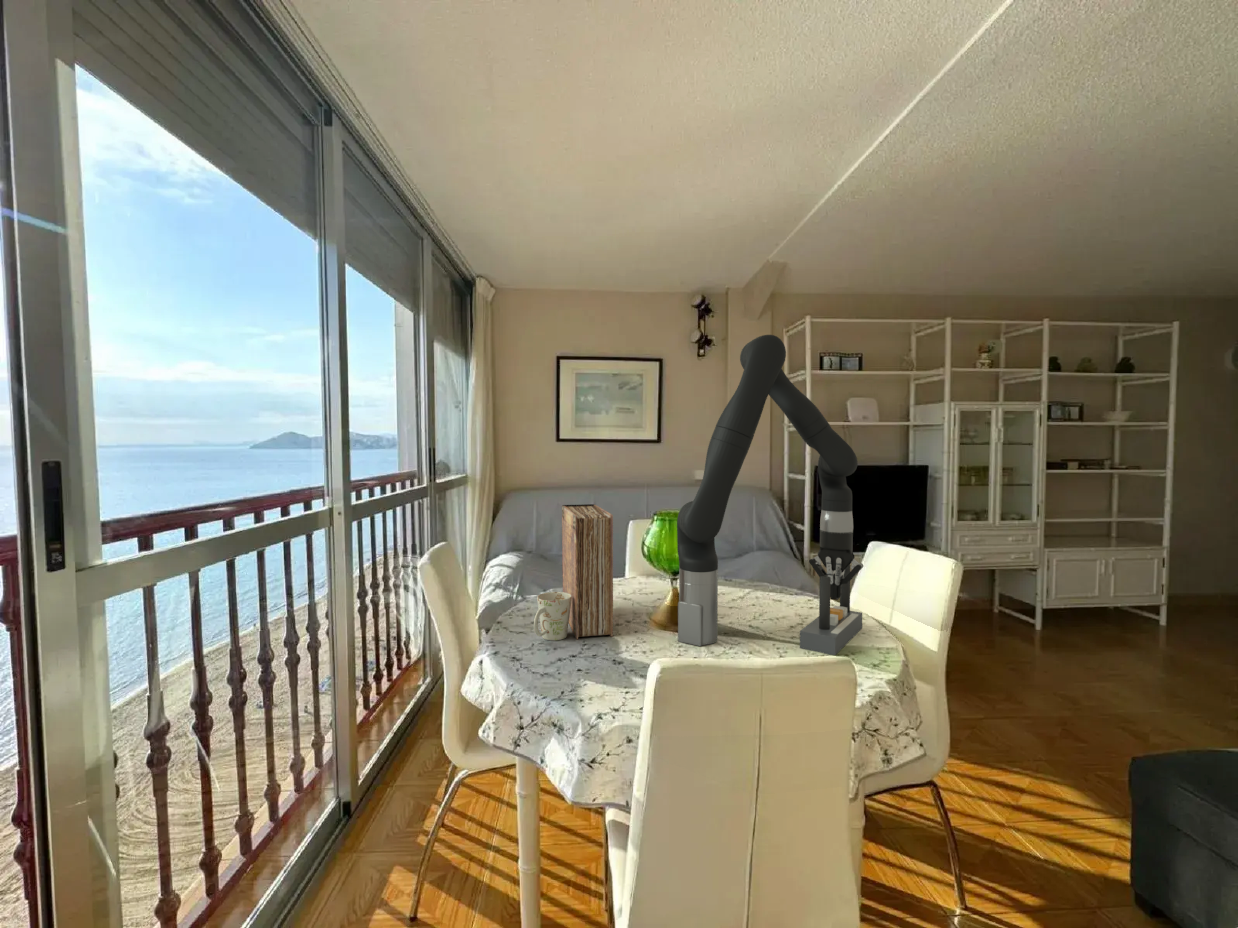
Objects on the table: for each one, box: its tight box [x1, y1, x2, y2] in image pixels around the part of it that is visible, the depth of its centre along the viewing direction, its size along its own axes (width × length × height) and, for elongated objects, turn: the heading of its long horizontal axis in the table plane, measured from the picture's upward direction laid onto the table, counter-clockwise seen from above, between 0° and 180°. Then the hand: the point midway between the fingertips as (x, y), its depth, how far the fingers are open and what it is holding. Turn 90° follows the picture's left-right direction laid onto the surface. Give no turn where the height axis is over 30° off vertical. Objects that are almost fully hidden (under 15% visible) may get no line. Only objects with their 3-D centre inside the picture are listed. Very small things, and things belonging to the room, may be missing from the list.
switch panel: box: [799, 605, 863, 656], centre depth 144 cm, size 24×8×6 cm, turn 144°
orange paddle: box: [830, 607, 843, 620], centre depth 146 cm, size 2×3×2 cm
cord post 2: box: [839, 564, 851, 613], centre depth 153 cm, size 2×2×12 cm
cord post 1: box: [818, 576, 831, 630], centre depth 139 cm, size 2×2×12 cm
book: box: [561, 503, 614, 641], centre depth 156 cm, size 25×9×30 cm, turn 13°
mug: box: [533, 591, 571, 641], centre depth 143 cm, size 8×13×10 cm, turn 155°
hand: (835, 599), depth 146 cm, fingers closed
